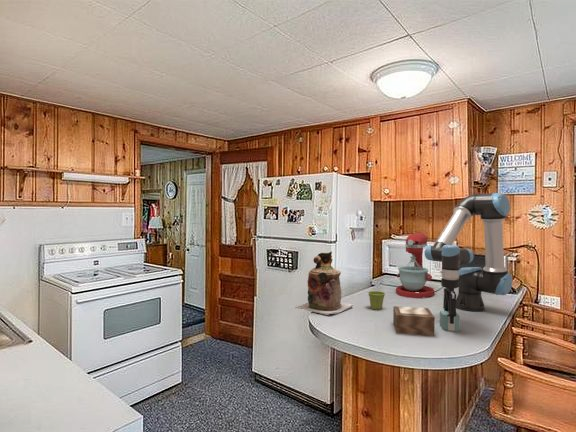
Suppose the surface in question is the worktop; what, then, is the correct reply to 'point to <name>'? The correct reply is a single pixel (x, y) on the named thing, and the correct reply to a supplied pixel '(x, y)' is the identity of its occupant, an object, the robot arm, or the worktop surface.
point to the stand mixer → (414, 270)
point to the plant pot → (376, 299)
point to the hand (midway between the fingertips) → (449, 327)
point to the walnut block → (413, 320)
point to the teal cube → (445, 320)
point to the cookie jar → (324, 288)
